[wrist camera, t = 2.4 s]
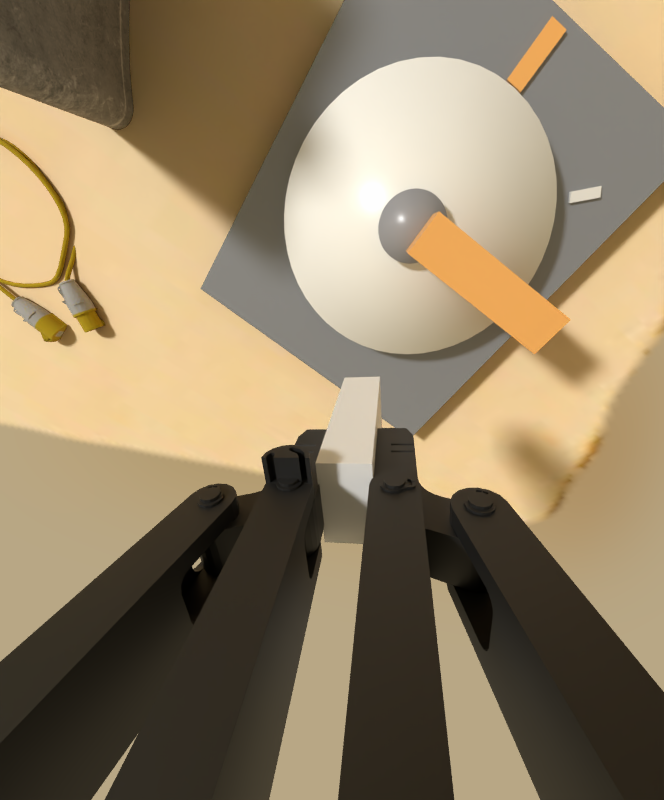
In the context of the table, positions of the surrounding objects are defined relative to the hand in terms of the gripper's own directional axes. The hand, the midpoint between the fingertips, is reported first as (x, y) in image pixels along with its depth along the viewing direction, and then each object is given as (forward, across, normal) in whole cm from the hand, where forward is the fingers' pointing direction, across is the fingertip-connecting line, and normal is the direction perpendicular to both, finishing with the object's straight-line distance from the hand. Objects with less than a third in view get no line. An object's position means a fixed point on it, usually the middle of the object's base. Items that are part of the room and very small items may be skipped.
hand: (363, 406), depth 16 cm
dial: (+12, +3, +7) cm, 14 cm away
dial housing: (+14, +2, +7) cm, 16 cm away
